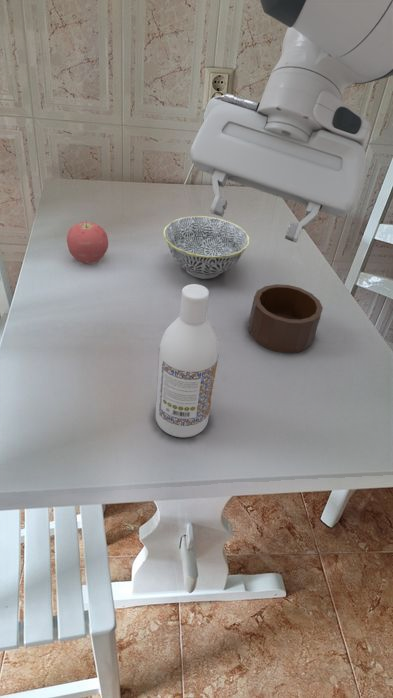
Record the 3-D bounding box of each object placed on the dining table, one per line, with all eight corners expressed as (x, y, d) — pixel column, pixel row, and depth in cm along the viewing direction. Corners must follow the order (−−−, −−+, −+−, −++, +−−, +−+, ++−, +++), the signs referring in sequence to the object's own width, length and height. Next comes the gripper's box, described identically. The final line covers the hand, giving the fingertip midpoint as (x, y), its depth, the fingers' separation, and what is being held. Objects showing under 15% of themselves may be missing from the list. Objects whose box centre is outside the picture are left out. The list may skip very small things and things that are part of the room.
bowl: (237, 299, 88) (243, 262, 83) (152, 283, 89) (153, 245, 85) (247, 258, 100) (254, 224, 95) (172, 244, 102) (175, 210, 97)
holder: (305, 315, 86) (313, 286, 82) (319, 354, 78) (329, 324, 74) (244, 312, 85) (250, 282, 81) (253, 351, 77) (259, 321, 73)
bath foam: (213, 436, 63) (235, 308, 50) (160, 442, 61) (169, 311, 48) (201, 398, 68) (219, 272, 55) (151, 402, 66) (158, 274, 53)
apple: (64, 254, 94) (60, 215, 89) (100, 249, 97) (99, 210, 92) (75, 273, 90) (72, 233, 85) (113, 266, 93) (112, 227, 88)
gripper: (210, 74, 55) (167, 190, 56) (385, 128, 53) (338, 250, 54) (215, 101, 62) (177, 206, 62) (373, 151, 59) (330, 259, 60)
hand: (253, 226), depth 58 cm, fingers open, 8 cm apart
